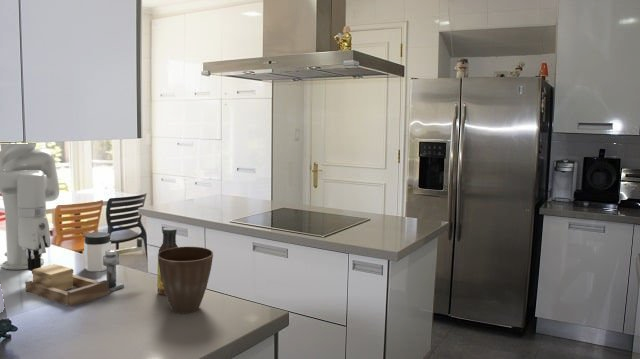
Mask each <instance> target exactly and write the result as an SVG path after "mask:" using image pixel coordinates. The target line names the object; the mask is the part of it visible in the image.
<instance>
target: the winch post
mask: <svg viewBox="0 0 640 359" xmlns="http://www.w3.org/2000/svg"><path fill="white" fill-rule="evenodd" d="M103 265H104V266H106V270H105V271H106V281H108V282H109V293H112V292H113V291H117V290H120V289H123V288H125V284H124V283H120V282H117V266H118V265H120V254H118V255H116V256H114V257H106V256H103Z"/></svg>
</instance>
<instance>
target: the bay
mask: <svg viewBox="0 0 640 359" xmlns="http://www.w3.org/2000/svg"><path fill="white" fill-rule="evenodd" d="M24 287H25V293H28V294H32V295H35V296H37V297H41V298H44V299H47V300H50V301H53V302H56V303H58V304H62V305H65V306H68V307H74V306H77V305H79V304H84V303H86V302H88V301H89V302H90V301H92V300H94V299H98V298H101V297H103V296H107V295H109V294H110V292H109V282H108V281H107V279H106V280H105V279H104V280H101V281H99V280H96V279H95V280H94V279H90V278H87V277H84V276H80V275H78V274H77V275H76V274H73V288H75V289H71V290H68V291H66V290H64V291H63V290H60V289H56V288H53V287H50V286H46V285H43V284H40V283H37V282H33V280H28V281H25V286H24Z"/></svg>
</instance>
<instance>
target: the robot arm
mask: <svg viewBox="0 0 640 359" xmlns="http://www.w3.org/2000/svg"><path fill="white" fill-rule="evenodd" d="M36 147H37V142H36V143H28V144H0V195H1V196H2V201H3V207H4V214H5V217H4V218H5V235H6V236H5V237H6V238H5V239H6V252H5V253H4V257H6V261H3V263H2V264H1V266H2V268H3V269H5V270H10V271H12V270H13V271H15V270H19V271H20V270H28V272H29V271H30V272H32V271H33V269H37V268H41V267H42V265H43V264H44V263H45V260H44V258H42V257H43V256H42V254H46V253H47V251H46V248H48V249H49V248H50V247H51V232H50V231H51V230H50V226H49V221H48V217H47V206H46V205H47V202H53V201H56V200H57V199H59V198H58V197H59V196H60V184H59V180H58V172H57V167H56V161H55V158H54V155H53V153H52V151H50V150H49V149H45V148H36Z"/></svg>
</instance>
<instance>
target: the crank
mask: <svg viewBox="0 0 640 359" xmlns="http://www.w3.org/2000/svg"><path fill="white" fill-rule="evenodd" d="M140 251H143V238H136V246H132V247H125V248H120V249H111V250H107V251H105V256H106V257H114V256H116V255H124V254H129V253H135V252H140Z"/></svg>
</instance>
